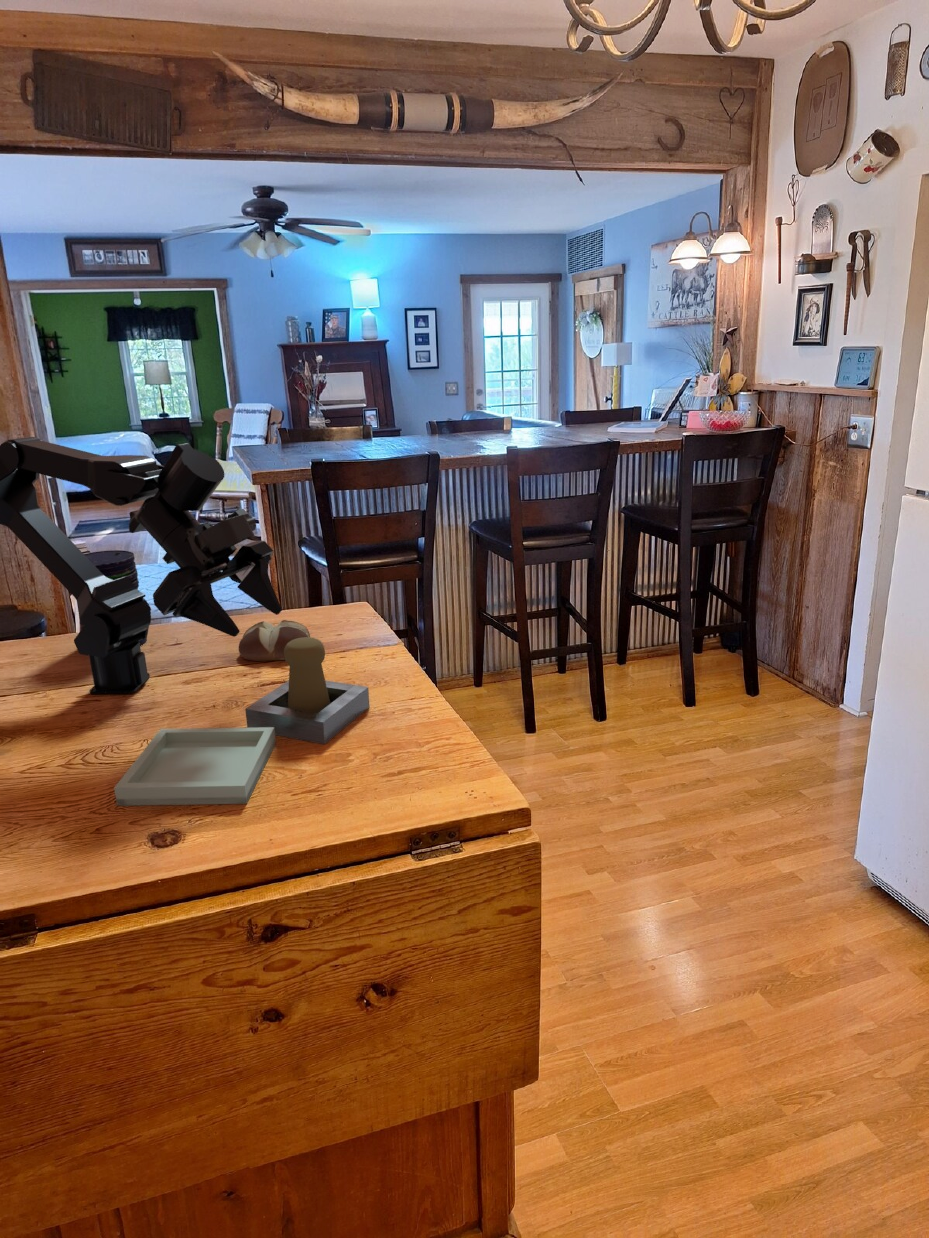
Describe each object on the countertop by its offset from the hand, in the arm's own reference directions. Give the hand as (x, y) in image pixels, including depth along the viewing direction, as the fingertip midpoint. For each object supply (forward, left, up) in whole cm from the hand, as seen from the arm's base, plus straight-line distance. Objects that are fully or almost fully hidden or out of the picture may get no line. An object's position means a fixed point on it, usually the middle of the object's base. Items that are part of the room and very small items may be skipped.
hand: (259, 623), depth 105 cm
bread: (-4, +23, -13) cm, 27 cm away
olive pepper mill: (+6, -2, -13) cm, 14 cm away
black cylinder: (-32, +28, -13) cm, 44 cm away
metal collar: (+6, -2, -13) cm, 14 cm away
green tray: (-4, -16, -13) cm, 21 cm away
